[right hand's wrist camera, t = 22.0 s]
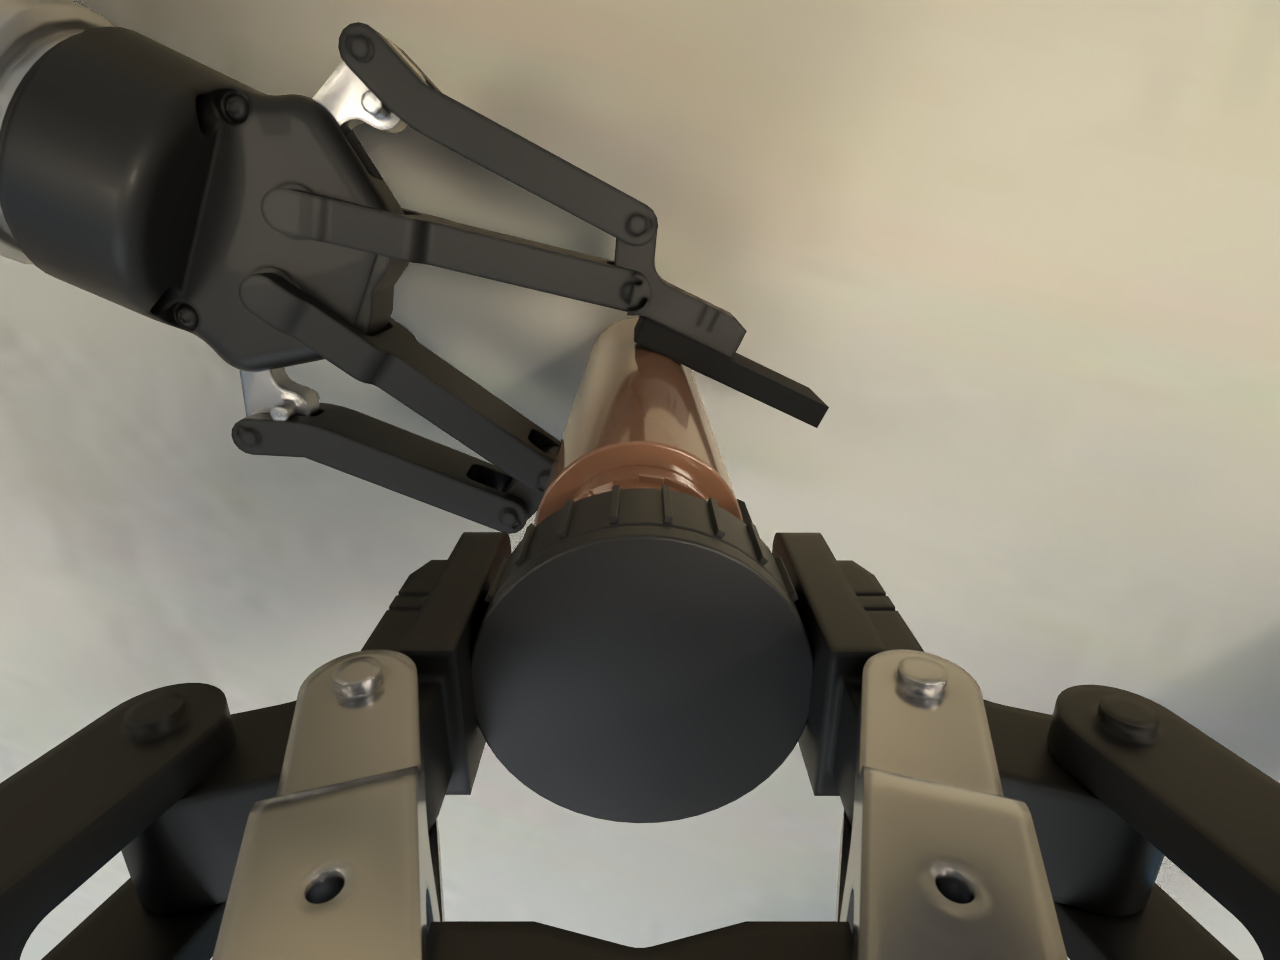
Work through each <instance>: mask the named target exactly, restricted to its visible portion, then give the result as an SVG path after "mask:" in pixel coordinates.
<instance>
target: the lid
mask: <svg viewBox="0 0 1280 960" xmlns="http://www.w3.org/2000/svg"><path fill="white" fill-rule="evenodd" d="M796 600H798V596H797V594H796V591H795V589H794V587H793V584H792V582H791V579H790V577H789V575H788V572H787V570H786V567H785V565H784V563H783V560H782V559H781V557H780V556H777V557H775V558H774V556H773V554H772V553H771V551H770V550H769V548H768V547H767V546H766V545H765V543H764V542H763V541H762V540H761V539H760V537H759V534H758V532H757V529H756V526H755V525H754V524H753V523H751V522H750V523H749V524H748V525H746V524H745V523H744V522H743V521H741V520H740V519H738V518H737V517H735V516H734V515H732V514H731V513H729V512H728V511H726V510H725V509H723V508H721V507H719V506H718V504H717V500H715V499H713V498H711V497H710V498H709V500H708V501H706V500H703V499H700V498H697V497H695V496H692V495H689V494H684V493H680V492H675V491H671V490H670V486H667V485H662V489H652V488H633V489H621V490H620V485H617V486H612V491H608V492H603V493H600V494H596V495H593V496H589V497H586V498H583V499H581V500H578V501H576V502H574V501H573V499H572V498H571V499H569V500H567V501H565V505H564V507H563V508H562V509H560V510H558V511H556V512H555V513H553V514H551V515H550V516H548V517H547V518H546V519H544V520H543V521H542V522H541V523H539V524H538V525H537V526H535V525H533V524H532V523H531V524H530V525H529V526H528V527H527V529H526V532H525V535H524V537H523V539H522V541H521V542H520V543H519V544H518V546H517V547H516V548H515V550H514V551H513V553H512V554H511V555H510V557H509V559H506V558H504V557H503V558H502V560H501V562H500V564H499V567H498V569H497V572H496V574H495V577H494V579H493V582H492V584H491V587H490V589H489V591H488V594H487V596H486V599H485V601H486V602H488V603H489V605H488V608H487V610H486V613H485V616H484V618H483V621H482V623H481V626H480V628H479V631H478V634H477V637H476V640H475V643H474V646H473V649H472V655H471V671H472V681H473V691H474V700H475V710H476V718H477V723H478V726H479V728H480V730H481V732H482V734H483V736H484V738H485V740H486V742H487V744H488V745H489V747H490V748H491V750H492V751H493V753H494V754H495V756H496V757H497V758H498V759H499V760H500V762H501V763H502V764H503V765H504V766H505V767H506V768H507V770H508V771H509V772H510V773H512V774H513V775H514V776H515V777H516V778H517V779H518V780H519V781H521V782H522V783H523V784H524V785H526V786H527V787H528V788H530V789H531V790H533V791H534V792H536V793H537V794H539V795H540V796H542V797H544V798H546V799H548V800H549V801H551V802H553V803H555V804H557V805H559V806H562V807H564V808H567V809H569V810H572V811H574V812H577V813H580V814H584V815H587V816H591V817H595V818H599V819H605V820H611V821H616V822H630V823H658V822H666V821H674V820H680V819H684V818H689V817H693V816H697V815H701V814H703V813H706V812H709V811H712V810H715V809H718V808H720V807H722V806H724V805H727V804H729V803H731V802H733V801H735V800H737V799H739V798H740V797H742V796H743V795H745V794H747V793H748V792H750V791H752V790H753V789H754V788H756V787H757V786H758V785H760V784H761V783H762V782H763V781H765V780H766V779H767V778H768V777H769V776H770V775H771V774H772V773H773V772H774V771H775V770H776V769H777V768H778V767H779V766H780V765H781V764H782V763H783V762H784V761H785V759H786V758H787V757H788V755H789V754H790V753H791V752H792V750H793V749H794V747H795V745H796V744H797V742H798V740H799V738H800V737H801V735H802V733H803V731H804V728H805V726H806V723H807V720H808V712H809V703H810V694H811V684H812V675H813V663H814V657H813V653H812V649H811V645H810V641H809V638H808V635H807V633H806V630H805V628H804V625H803V623H802V620H801V618H800V615H799V613H798V610H797V608H796V605H795V603H794V601H796Z"/></svg>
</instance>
